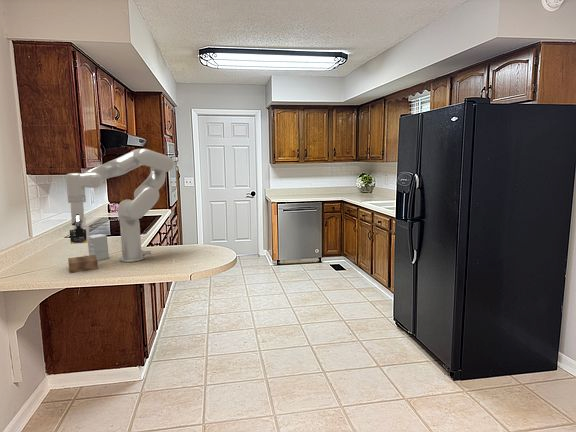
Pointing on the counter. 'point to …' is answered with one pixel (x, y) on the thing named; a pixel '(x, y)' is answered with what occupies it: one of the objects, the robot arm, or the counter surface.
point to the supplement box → (98, 246)
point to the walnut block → (82, 263)
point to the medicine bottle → (80, 239)
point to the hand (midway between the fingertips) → (79, 235)
